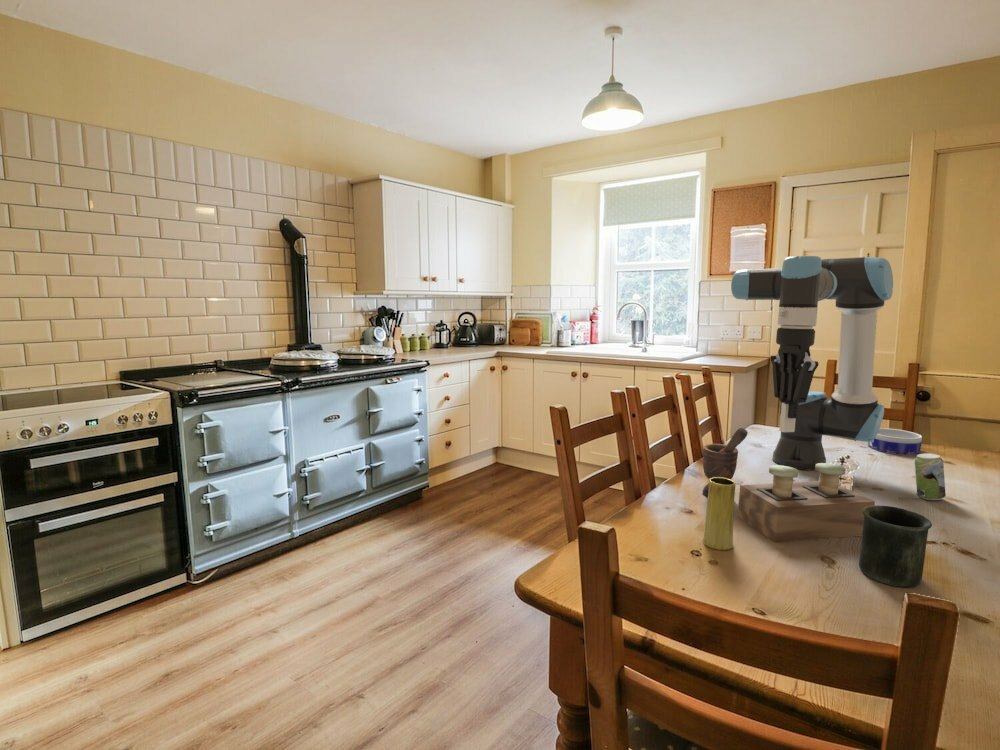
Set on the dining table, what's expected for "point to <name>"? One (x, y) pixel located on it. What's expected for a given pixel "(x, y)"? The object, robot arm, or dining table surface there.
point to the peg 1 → (782, 480)
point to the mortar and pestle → (722, 458)
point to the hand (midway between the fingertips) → (786, 431)
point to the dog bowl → (896, 442)
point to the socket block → (802, 512)
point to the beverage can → (930, 476)
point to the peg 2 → (829, 477)
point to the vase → (719, 514)
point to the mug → (893, 545)
